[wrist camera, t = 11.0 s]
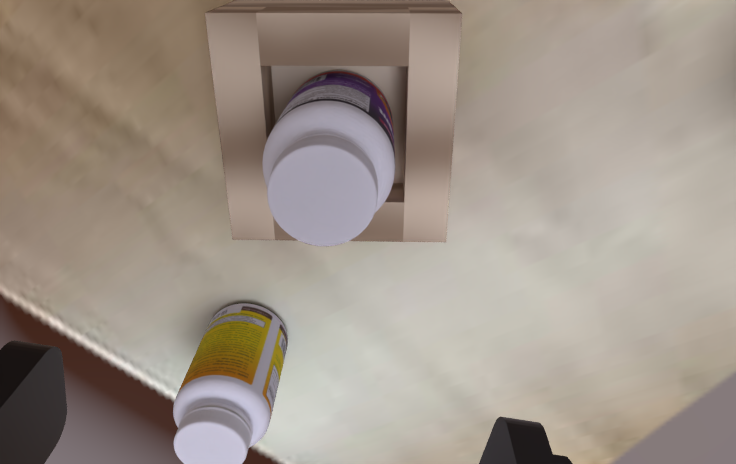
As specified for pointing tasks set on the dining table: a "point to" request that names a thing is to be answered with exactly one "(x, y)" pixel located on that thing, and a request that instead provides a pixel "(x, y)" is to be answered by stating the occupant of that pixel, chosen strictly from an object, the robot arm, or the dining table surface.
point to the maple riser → (351, 53)
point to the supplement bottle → (230, 386)
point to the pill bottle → (330, 158)
